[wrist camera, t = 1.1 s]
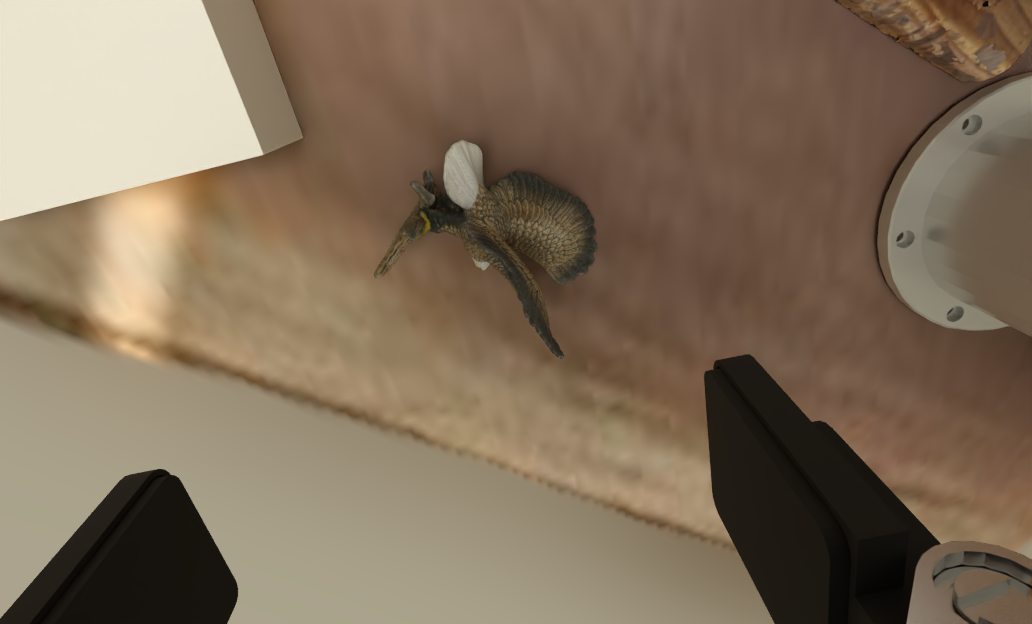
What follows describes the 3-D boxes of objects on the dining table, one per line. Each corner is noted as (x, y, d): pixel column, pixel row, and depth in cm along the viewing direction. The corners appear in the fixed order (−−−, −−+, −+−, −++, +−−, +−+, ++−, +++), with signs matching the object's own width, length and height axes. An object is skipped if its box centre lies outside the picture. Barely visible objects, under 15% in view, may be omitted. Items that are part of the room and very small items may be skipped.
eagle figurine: (382, 296, 28) (550, 373, 28) (359, 254, 21) (583, 357, 21) (449, 165, 30) (608, 239, 30) (450, 86, 23) (656, 183, 23)
